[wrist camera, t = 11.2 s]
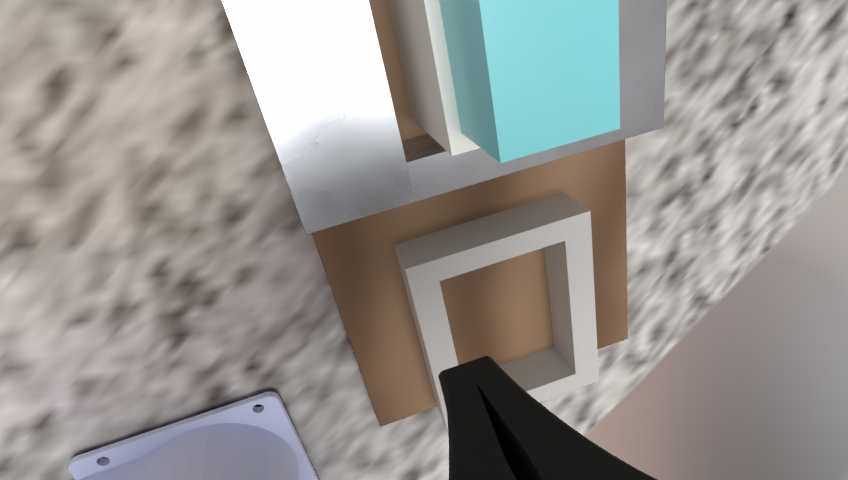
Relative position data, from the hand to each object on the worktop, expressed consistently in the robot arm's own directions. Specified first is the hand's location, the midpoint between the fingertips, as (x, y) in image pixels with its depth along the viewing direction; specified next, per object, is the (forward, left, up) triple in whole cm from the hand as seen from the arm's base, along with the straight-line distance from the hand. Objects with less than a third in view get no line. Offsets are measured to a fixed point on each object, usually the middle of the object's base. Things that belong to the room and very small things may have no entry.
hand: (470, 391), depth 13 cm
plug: (+4, +7, -10) cm, 13 cm away
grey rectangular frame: (+4, -5, -10) cm, 12 cm away
